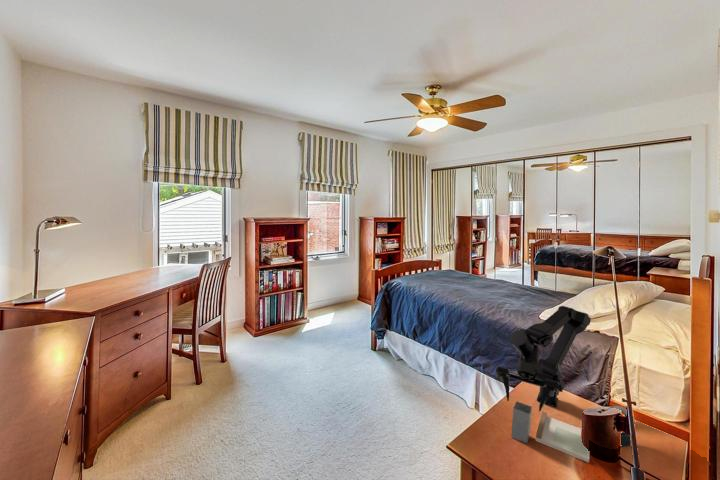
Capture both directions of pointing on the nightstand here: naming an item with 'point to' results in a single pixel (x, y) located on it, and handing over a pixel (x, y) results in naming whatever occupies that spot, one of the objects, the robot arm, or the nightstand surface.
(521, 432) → the block
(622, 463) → the nightstand surface
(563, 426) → the door panel
